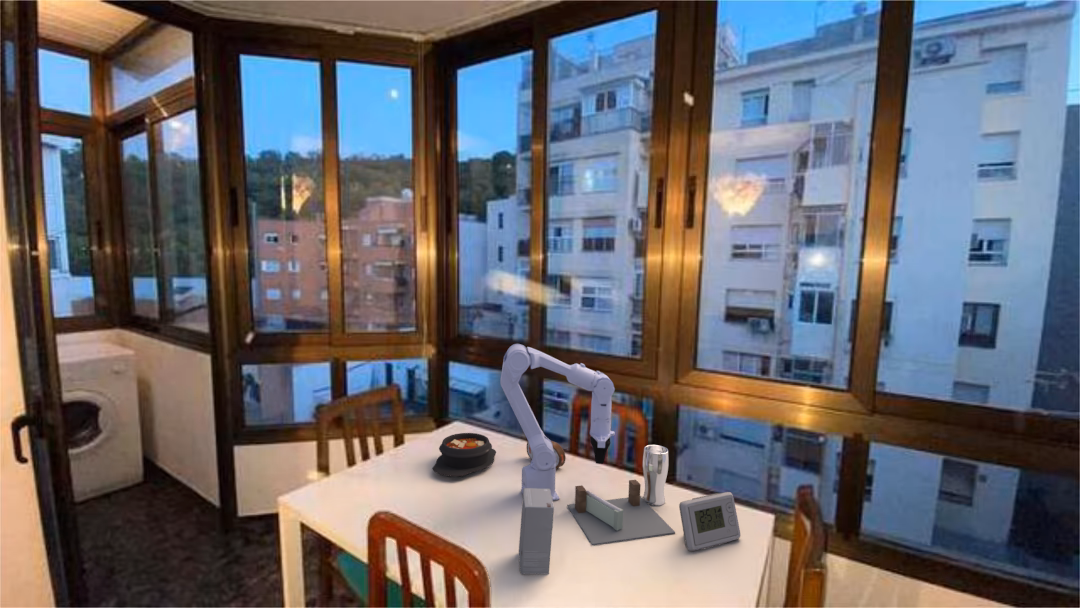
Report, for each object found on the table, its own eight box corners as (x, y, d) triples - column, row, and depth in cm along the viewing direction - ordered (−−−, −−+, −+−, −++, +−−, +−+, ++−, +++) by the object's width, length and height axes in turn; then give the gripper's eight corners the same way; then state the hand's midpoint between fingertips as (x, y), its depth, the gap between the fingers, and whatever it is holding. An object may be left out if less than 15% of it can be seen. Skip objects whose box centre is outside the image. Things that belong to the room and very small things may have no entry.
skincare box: (518, 552, 113) (519, 486, 111) (549, 551, 114) (550, 486, 112) (519, 576, 105) (521, 505, 103) (553, 575, 105) (554, 504, 104)
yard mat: (592, 545, 116) (592, 543, 116) (567, 506, 135) (567, 504, 135) (675, 533, 122) (675, 532, 122) (640, 497, 140) (640, 496, 140)
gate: (584, 510, 131) (584, 491, 131) (589, 508, 132) (590, 489, 132) (616, 530, 122) (617, 510, 121) (622, 528, 123) (623, 508, 122)
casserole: (469, 487, 144) (469, 460, 144) (417, 475, 152) (417, 448, 151) (508, 457, 167) (509, 433, 166) (462, 447, 175) (462, 424, 174)
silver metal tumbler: (664, 495, 142) (666, 445, 140) (668, 507, 135) (670, 454, 134) (640, 493, 143) (642, 443, 141) (642, 505, 136) (644, 453, 134)
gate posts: (578, 514, 130) (579, 491, 130) (574, 509, 133) (575, 486, 132) (639, 507, 135) (640, 484, 134) (634, 501, 138) (635, 479, 137)
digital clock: (686, 554, 114) (688, 510, 113) (669, 533, 123) (670, 492, 121) (749, 548, 117) (752, 505, 116) (727, 527, 126) (730, 487, 125)
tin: (565, 470, 158) (566, 444, 157) (559, 473, 155) (560, 447, 154) (530, 457, 167) (531, 433, 167) (524, 459, 165) (525, 435, 164)
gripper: (617, 426, 132) (615, 474, 133) (613, 409, 146) (611, 453, 148) (590, 424, 133) (589, 473, 134) (589, 408, 147) (588, 452, 148)
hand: (599, 462), depth 141 cm, fingers closed
